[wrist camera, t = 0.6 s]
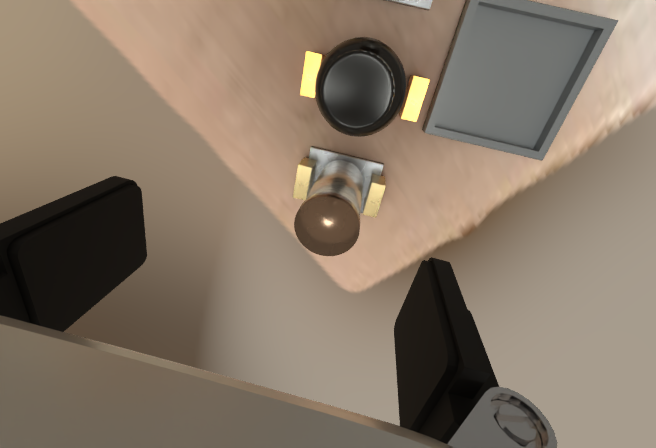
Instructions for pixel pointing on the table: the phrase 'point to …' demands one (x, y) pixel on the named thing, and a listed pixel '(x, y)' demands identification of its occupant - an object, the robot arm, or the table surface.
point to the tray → (514, 74)
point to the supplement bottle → (360, 86)
